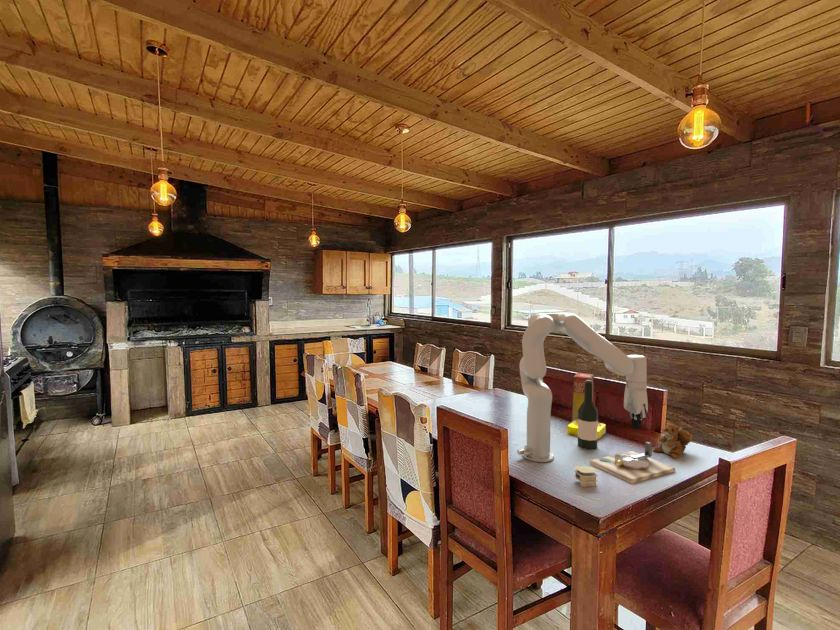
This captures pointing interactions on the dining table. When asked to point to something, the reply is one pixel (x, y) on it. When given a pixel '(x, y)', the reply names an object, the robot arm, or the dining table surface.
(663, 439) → the stuffed squirrel
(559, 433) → the dining table surface
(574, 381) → the food packaging
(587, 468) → the tan layered block
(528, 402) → the robot arm
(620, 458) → the silver rounded piece
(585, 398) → the wine bottle
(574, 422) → the element tile
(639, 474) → the stand board
